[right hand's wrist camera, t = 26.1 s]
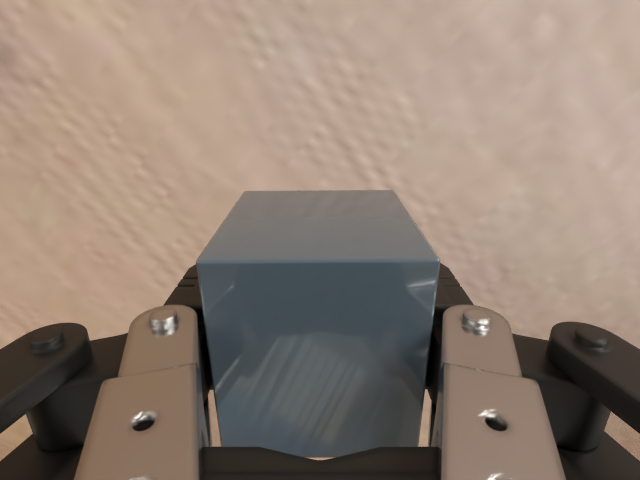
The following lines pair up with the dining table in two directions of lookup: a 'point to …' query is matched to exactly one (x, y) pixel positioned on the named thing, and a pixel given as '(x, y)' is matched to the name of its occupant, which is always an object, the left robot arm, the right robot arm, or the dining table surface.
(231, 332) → the block
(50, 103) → the dining table surface
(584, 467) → the right robot arm
